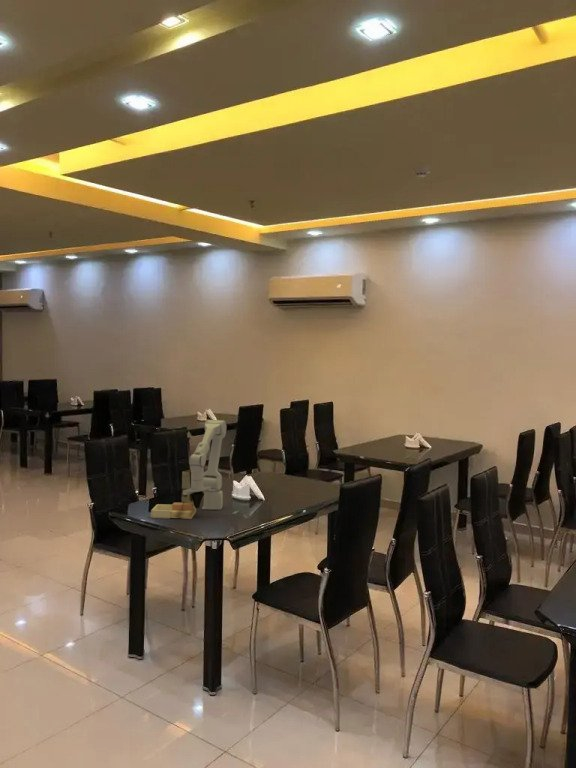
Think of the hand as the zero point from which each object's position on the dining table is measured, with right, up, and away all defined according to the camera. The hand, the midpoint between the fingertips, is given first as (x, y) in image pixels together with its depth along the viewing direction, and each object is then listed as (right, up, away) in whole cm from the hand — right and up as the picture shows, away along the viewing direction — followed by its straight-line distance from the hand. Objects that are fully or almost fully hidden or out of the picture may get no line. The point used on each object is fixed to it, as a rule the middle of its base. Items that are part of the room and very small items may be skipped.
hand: (196, 507), depth 295 cm
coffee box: (-7, -3, +30) cm, 31 cm away
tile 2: (-4, -1, 0) cm, 4 cm away
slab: (-7, -4, 0) cm, 7 cm away
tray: (-16, -4, 0) cm, 16 cm away
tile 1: (-9, -1, 0) cm, 9 cm away
